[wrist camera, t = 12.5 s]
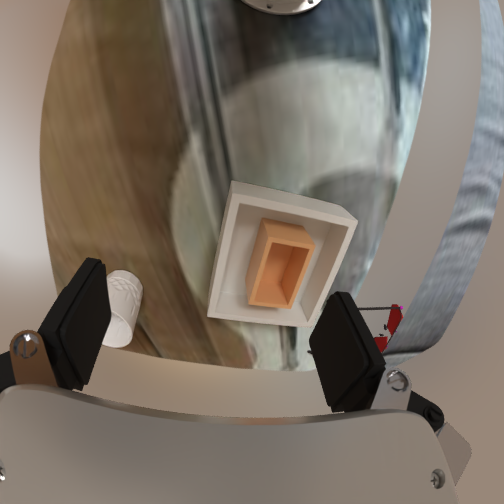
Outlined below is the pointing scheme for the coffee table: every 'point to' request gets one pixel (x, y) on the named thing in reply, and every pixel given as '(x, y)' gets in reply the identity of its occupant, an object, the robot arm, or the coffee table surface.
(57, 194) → the coffee table surface
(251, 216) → the box
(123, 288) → the white cup
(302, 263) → the orange crate
